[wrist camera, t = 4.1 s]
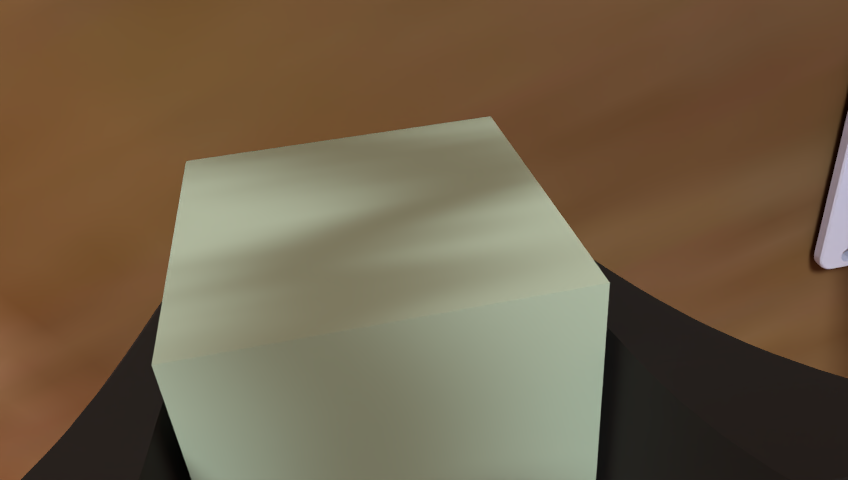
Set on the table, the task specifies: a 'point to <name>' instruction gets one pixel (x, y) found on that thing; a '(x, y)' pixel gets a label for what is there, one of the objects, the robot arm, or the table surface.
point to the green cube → (380, 315)
